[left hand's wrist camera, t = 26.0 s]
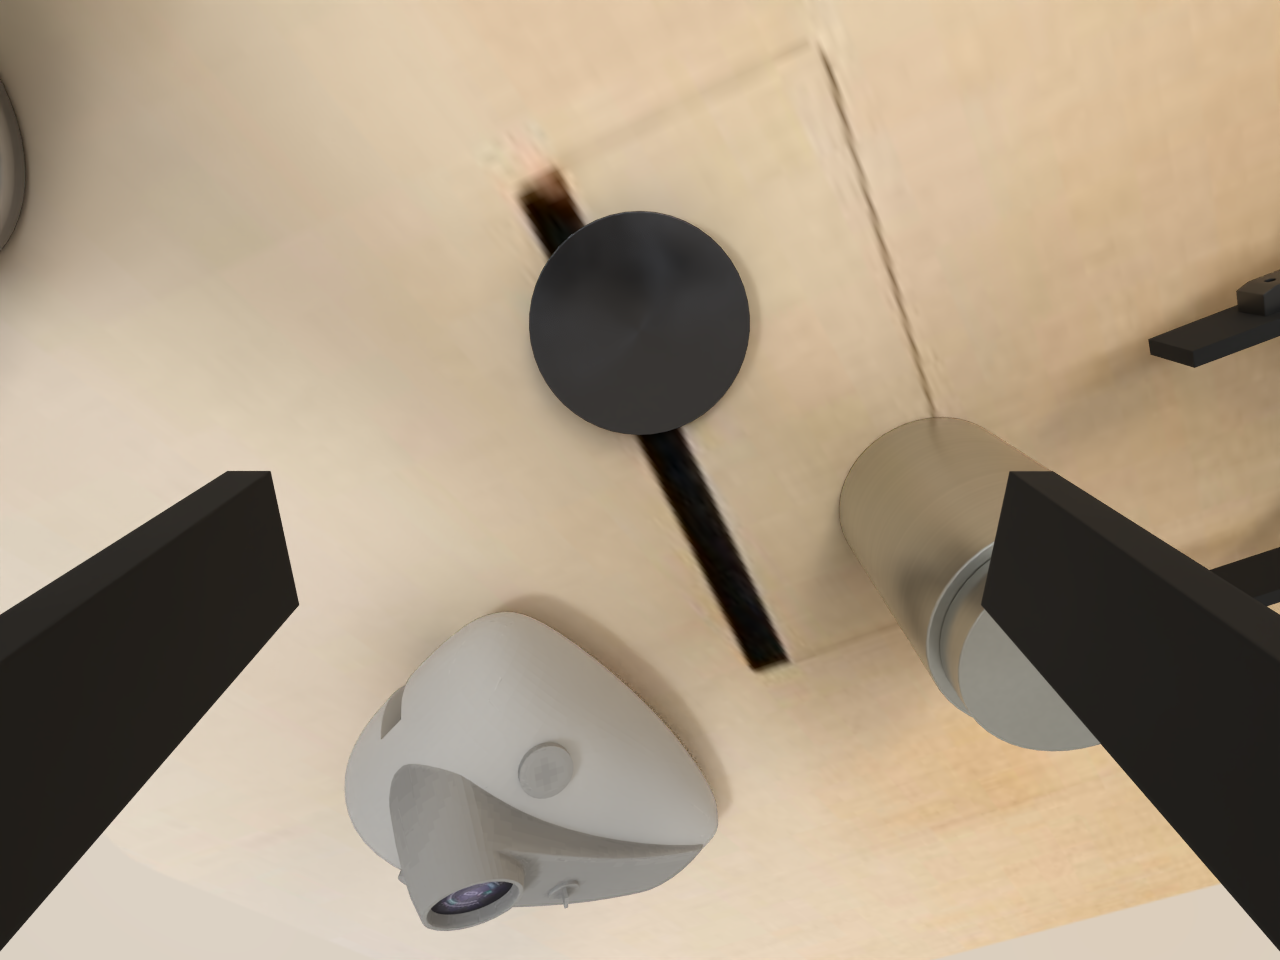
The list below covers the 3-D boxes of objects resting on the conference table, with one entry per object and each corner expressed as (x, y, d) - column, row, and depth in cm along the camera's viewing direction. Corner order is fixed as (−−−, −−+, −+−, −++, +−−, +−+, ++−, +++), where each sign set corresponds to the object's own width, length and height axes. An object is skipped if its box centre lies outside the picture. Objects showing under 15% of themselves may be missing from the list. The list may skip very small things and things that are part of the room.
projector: (420, 864, 50) (340, 1105, 37) (339, 599, 42) (195, 784, 28) (718, 841, 50) (748, 1080, 36) (696, 566, 41) (723, 741, 28)
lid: (529, 210, 34) (522, 210, 32) (751, 211, 34) (757, 212, 32) (539, 423, 38) (534, 434, 36) (737, 424, 38) (742, 435, 36)
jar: (1049, 502, 40) (1270, 658, 26) (907, 607, 43) (1037, 801, 29) (948, 379, 37) (1133, 480, 23) (803, 499, 40) (890, 655, 26)
